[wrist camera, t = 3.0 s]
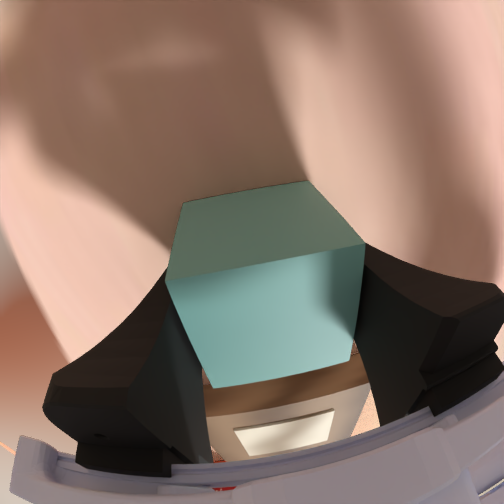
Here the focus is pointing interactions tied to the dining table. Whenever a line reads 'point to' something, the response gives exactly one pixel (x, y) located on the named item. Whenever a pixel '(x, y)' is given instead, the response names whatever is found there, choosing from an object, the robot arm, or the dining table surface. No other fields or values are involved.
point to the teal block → (266, 282)
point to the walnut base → (286, 411)
